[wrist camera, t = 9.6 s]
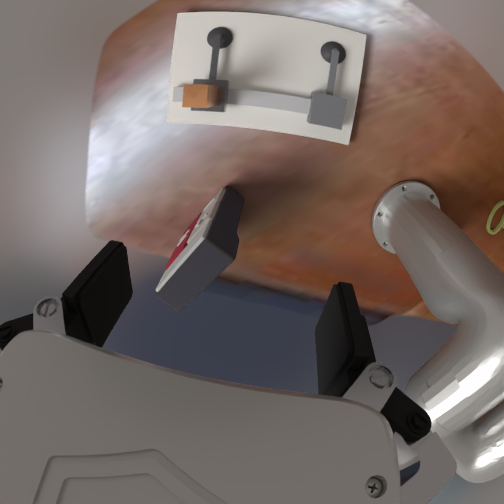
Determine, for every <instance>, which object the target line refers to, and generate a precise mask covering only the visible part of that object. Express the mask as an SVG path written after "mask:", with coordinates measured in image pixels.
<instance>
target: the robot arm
mask: <svg viewBox="0 0 504 504" xmlns="http://www.w3.org/2000/svg"><path fill="white" fill-rule="evenodd" d="M402 187H403V188H402ZM378 212H379V213H378ZM372 229H373V234H374V236H375V238H376V240H377V241H378V243H379V244H380V246H381V247H382V248H384V249H385V250H387V251H388V252H391V253H394V254H397V255H398V257H399V259H400V260H401V262H402V263H403V265H404V267H405V268H406V270H407V272H408V273H409V275H410V277H411V279H412V280H413V282H414V284H415V286H416V287H417V289H418V291H419V293H420V295H421V296H422V298H423V300H424V302H425V303H426V305H427V307H428V308H429V310H430V311H431V312H432V313H433V314H434V315H435V316H436V317H437V318H439V319H441V320H444V321H447V322H452V323H459V327H458V328H457V330H456V331H455V333H454V334H453V335H452V336H451V337H450V338H449V340H448V341H447V342H446V343H445V344H444V345H443V346H442V347H441V348H440V349H439V350H438V351H437V352H436V353H435V354H434V355H433V356H432V357H431V358H430V359H429V360H427V362H425V363H424V364H423V365H422V366H421V367H420V368H419V369H418V370H417V371H416V372H415V373H414V374H413V375H412V376H411V377H410V378H409V380H408V381H407V383H406V385H405V387H404V390H403V392H401V391H400V390H399V389H398V388H397V387H396V384H397V377H396V374H395V372H394V371H393V369H392V368H391V367H389V366H388V365H386V364H385V363H381V362H376V359H375V355H374V351H373V347H372V343H371V339H370V335H369V331H368V327H367V323H366V319H365V317H364V316H363V315H361V314H360V310H359V307H358V303H357V299H356V296H355V292H354V289H353V285H352V284H351V283H345V282H339V283H338V284H337V285H336V284H334V285H333V287H332V290H331V292H330V295H329V297H328V300H327V302H326V305H325V307H324V309H323V312H322V314H321V317H320V319H319V321H318V324H317V326H316V329H315V339H316V354H317V370H318V389H319V394H311V393H302V392H293V391H285V390H277V389H270V388H263V387H256V386H250V385H244V384H238V383H232V382H227V381H222V380H217V379H212V378H207V377H203V376H198V375H194V374H189V373H185V372H181V371H177V370H173V369H169V368H165V367H162V366H158V365H155V364H151V363H147V362H144V361H140V360H137V359H134V358H131V357H128V356H125V355H121V354H118V353H115V352H112V351H110V350H106V349H103V348H102V346H103V344H104V343H105V341H106V339H107V337H108V336H109V334H110V332H111V330H112V329H113V327H114V325H115V324H116V322H117V320H118V319H119V317H120V315H121V314H122V312H123V310H124V308H125V307H126V306H127V304H128V302H129V300H130V299H131V297H132V293H133V291H132V284H131V278H130V271H129V264H128V256H127V249H126V246H124V244H123V243H122V242H118V241H113V240H111V241H109V242H108V244H107V245H106V246H105V247H104V248H103V249H102V250H101V251H100V252H99V253H98V254H97V255H96V256H95V257H94V258H93V259H92V261H91V262H90V263H89V264H88V265H87V266H86V267H85V268H84V270H82V271H81V273H80V274H79V275H78V276H77V277H76V278H75V280H74V281H73V282H72V283H71V284H70V285H69V286H68V288H67V289H66V290H65V291H64V292H63V294H62V295H63V297H62V298H61V299H59V298H58V297H56V296H47V297H44V298H42V299H41V300H39V301H38V302H37V303H36V305H35V307H34V310H33V314H29V315H26V316H23V317H20V318H17V319H14V320H11V321H8V322H5V323H3V324H2V325H1V326H0V504H427V503H428V502H429V501H431V500H432V498H434V497H435V496H436V495H437V494H438V493H439V492H440V491H441V490H442V489H443V488H444V487H445V485H446V484H447V483H448V482H449V481H450V480H451V479H452V478H453V477H454V475H455V474H456V472H457V473H458V474H459V475H460V476H461V477H463V478H464V479H465V480H467V481H470V482H475V483H483V482H487V481H489V480H492V479H494V478H497V477H499V476H500V475H502V474H504V273H503V272H502V271H501V270H500V269H499V268H498V267H497V266H496V265H495V264H494V263H493V262H492V261H491V260H490V259H489V258H488V257H487V256H486V254H485V253H484V252H483V251H482V250H481V249H480V248H479V247H478V246H477V245H476V244H475V243H474V242H473V241H472V240H471V239H470V238H469V237H468V236H467V235H466V234H465V233H464V232H463V231H462V230H461V229H460V228H459V227H458V226H457V225H456V224H455V223H454V222H453V221H452V220H451V219H450V218H449V217H448V216H447V215H446V214H445V213H443V212H442V211H441V210H440V203H439V200H438V198H437V196H436V194H435V193H434V192H433V190H432V189H430V188H429V187H428V186H427V185H425V184H423V183H421V182H418V181H403V182H400V183H398V184H395V185H394V186H392V187H391V188H389V189H388V190H387V191H386V192H385V193H384V194H383V195H382V196H381V197H380V199H379V200H378V202H377V204H376V206H375V209H374V211H373V216H372Z"/></svg>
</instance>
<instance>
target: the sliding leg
mask: <svg viewBox="0 0 504 504" xmlns="http://www.w3.org/2000/svg"><path fill="white" fill-rule="evenodd" d="M221 39H222V35H221V34H220V33H216V34H215V35H214V41H213V48H212V56H211V65H210V74H209V79H193V84H184V88H183V100H182V107H190V108H191V111H211V112H226V106H227V96H228V87H229V81H228V80H216V76H217V67H218V59H219V51H220V43H221Z"/></svg>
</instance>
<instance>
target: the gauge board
mask: <svg viewBox="0 0 504 504" xmlns="http://www.w3.org/2000/svg"><path fill="white" fill-rule="evenodd" d="M216 33H220V34H221V35H222V39H221V43H220V51H219V59H218V67H217V76H216V80H228V81H229V87H228V96H227V106H226V112H211V111H191V108H190V107H182V100H183V88H184V84H193V79H209V74H210V65H211V56H212V48H213V41H214V35H215V34H216ZM365 43H366V35H365V34H362V33H358V32H355V31H352V30H348V29H344V28H340V27H337V26H332V25H328V24H324V23H319V22H314V21H309V20H304V19H298V18H292V17H285V16H278V15H269V14H259V13H245V12H188V13H178V16H177V22H176V29H175V36H174V44H173V52H172V61H171V71H170V81H169V94H168V109H167V123H190V124H208V125H222V126H234V127H244V128H253V129H261V130H269V131H276V132H282V133H289V134H295V135H301V136H307V137H312V138H317V139H322V140H327V141H332V142H337V143H341V144H346V145H349V140H350V135H351V130H352V125H353V120H354V115H355V109H356V104H357V98H358V92H359V86H360V80H361V73H362V66H363V59H364V51H365Z"/></svg>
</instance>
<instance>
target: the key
mask: <svg viewBox="0 0 504 504" xmlns="http://www.w3.org/2000/svg"><path fill="white" fill-rule="evenodd" d="M502 205H504V201H499V202H498V203H497V204H496V205H495V206H494V208H493V209H492V211H491V213H490V215H489V217H488V220H487V225H486V229H487V232H488V233H490V234H492V235H493V234H496V233H497V232H498V231H499V230H500V229H501V228H503V229H504V213H503V216H502V218H501V220H500V222H499V223H498V225H497V226H496V227H495V228H494V229H493V230H490V225H491V220H492V218H493V215H494V214H495V212H496V210H497V209H498V208H499V207H500V206H502Z"/></svg>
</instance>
